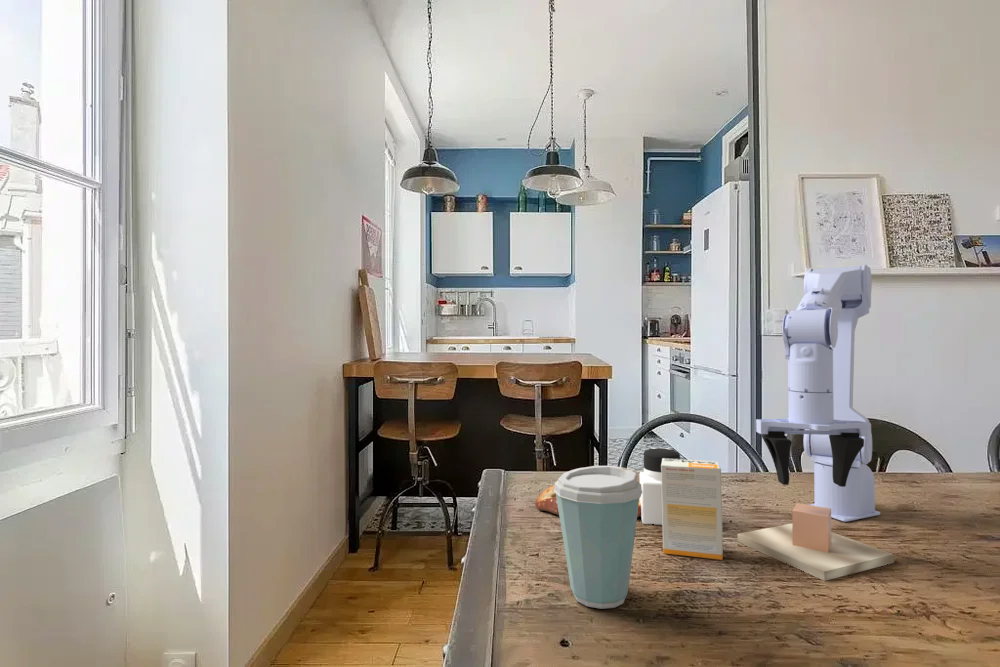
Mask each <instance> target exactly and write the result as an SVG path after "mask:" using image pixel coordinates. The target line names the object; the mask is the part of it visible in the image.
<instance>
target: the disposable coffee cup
mask: <svg viewBox="0 0 1000 667" xmlns="http://www.w3.org/2000/svg"><path fill="white" fill-rule="evenodd" d="M553 485H554V492H555V493H556V498H557V504H558V511H559V515H558V517H559V522H560V529H561V535H562V541H563V548H564V552H565V553H564V555H565V560H566V566H567V573H568V578H569V579H568V580H569V586H570V590H571V591H572V592H573V593H572V594H573V596H574V598H575V600H576V601H577V602H579V603H580V604H581V605H584V606H586V607H589V608H596V609H601V610H602V609H615V608H617V607H619V606H621V605H623V604H624V603H625V601H626V598H627V595H628V592H629V586H630V578H631V569H632V563H633V553H634V544H635V538H636V531H637V530H636V527H637V520H638V517H637V514H638V506H639V498H640V497H641V494H642V488H641V484H640V481H638V473H636V472H635V471H634V470H631V469H629V468H627V467H622V466H621V467H620V466H618V465H591V466H586V467H579V468H575V469H571V470H569V471H566V472H563V473H562V474H561V475H560V477H558V478H557V480H556V481H555V482H554V484H553Z"/></svg>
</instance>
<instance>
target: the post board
mask: <svg viewBox="0 0 1000 667" xmlns="http://www.w3.org/2000/svg"><path fill="white" fill-rule="evenodd" d="M831 541H832V543H831V546H830V549H829V551H828V552H823V551H818V550H814V549H809V548H804V547H800V546H795V545H793V541H792V523H786V524H781V525H777V526H773V527H766V528H761V529H756V530H750V531H746V532H741V533H737V543H740V544H741V545H744V546H745V547H748V548H750V549H753V550H755V551H758V552H759V553H761V554H764V555H766V556H769V557H771V558H772V557H773V558H772V559H775V560H777V561H779V562H782V563H783V564H786V563H787V564H786V565H789V566H790V565H791V567H792V566H793V568H795V569H797V570H799V569H800V571H801V570H802V572H803V571H804V573H806V574H808V573H809V574H808V575H811V576H813V577H815V578H817V579H820V580H821V581H823V582H824V581H829V580H833V579H837V578H841V577H845V576H849V575H853V574H857V573H860V572H864V571H868V570H871V569H875V568H879V567H882V566H887V564H888V565H890V564H894V563H895V555H894V553H891V552H888V551H885V550H884V549H881V548H877V547H875V546H872V545H870V544H867V543H863V542H861V541H857V540H856V539H852V538H850V537H847V536H844V535H841V534H838V533H835V532H833V531H831Z"/></svg>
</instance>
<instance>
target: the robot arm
mask: <svg viewBox="0 0 1000 667" xmlns="http://www.w3.org/2000/svg"><path fill="white" fill-rule="evenodd" d="M872 288H873V287H872V271H871V267H870V266H868V265H867V264H862V265H854V266H839V267H828V268H815V269H814V268H808V269H807V270H806V272H805V274H804V277H803V294H804V295H803V296H802V298H801V300H800V302H799V303H798V306H796V309H792V310H790V312H789V313H785V314H784V315H783V318H782V325H781V331H782V332H781V333H782V335H781V336H782V340H783V345H784V356H785V359H786V360H787V389H788V390H787V391H788V392H787V393H788V394H787V396H788V397H787V398H788V399H787V400H788V401H787V406H788V409H787V410H788V414H787V415H788V416H787V417H785V418H759V419H758V418H757V419H755V425H756V427H755V428H756V430H755V432H756V433H758V434H759V435H761V438H762V440H763V441H764V443H765V445H766V448H767V449H768V451H769V454H770V456H771V459H772V461H773V465H774V468H775V470H776V472H775V473H776V475H777V479H778V482H779V483H780V484H782V485H784V486H789V485H790V484H789V483H790V464H789V463H790V452H791V446H792V442H793V441H791V439H789V438H788V436H787V435H803V441H802V442H803V450H804V453H805V454H806V455H807V457H809V458H811V462H813V463H814V464H813V478H814V480H813V482H814V484H813V487H814V489H813V490H814V492H813V493H814V496H813V498H814V503H810V504H809V503H808V505H813V506H819V507H825V508H831V519H832V518H833V519H834V520H838V521H842V522H846V523H847V522H851V521H856V520H860V519H866V518H867V519H868V518H871V517H875V516H880V515H881V511H877V510H876V480H875V475H874V473H873V471H872V469H871V468H870V466H868V464H869V463H870V462H871V461H872V456H873V435H872V424H871V422H870V420H869V418H868V417H866V416H865V415H863V414H862V413H861V412H859V411H857V410H856V409H854V374H855V373H854V371H855V370H854V369H855V368H854V367H855V335H856V334H855V332H856V328H857V325H858V322H859V319H860V318H862V317H864V316H867V315H868V314H870V309H871V307H872Z"/></svg>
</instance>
